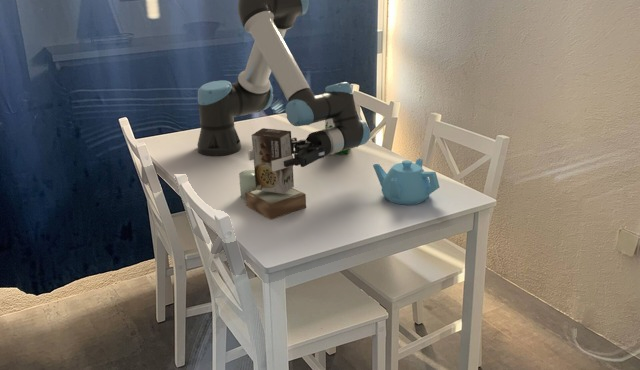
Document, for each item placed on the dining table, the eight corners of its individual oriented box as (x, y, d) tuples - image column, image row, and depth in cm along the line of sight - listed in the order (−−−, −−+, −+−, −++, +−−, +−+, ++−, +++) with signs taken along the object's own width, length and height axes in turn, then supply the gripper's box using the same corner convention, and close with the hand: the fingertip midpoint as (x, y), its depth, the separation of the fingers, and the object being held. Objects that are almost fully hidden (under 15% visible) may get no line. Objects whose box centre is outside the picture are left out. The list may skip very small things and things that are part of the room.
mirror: (246, 205, 178) (245, 191, 176) (280, 194, 185) (280, 181, 183) (270, 219, 169) (269, 204, 168) (306, 207, 176) (305, 193, 175)
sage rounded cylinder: (236, 195, 185) (235, 173, 182) (254, 190, 188) (252, 168, 186) (248, 202, 181) (246, 179, 178) (265, 196, 184) (264, 174, 181)
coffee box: (294, 186, 176) (292, 130, 170) (283, 194, 171) (281, 137, 164) (266, 181, 180) (262, 127, 173) (254, 190, 174) (250, 133, 168)
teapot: (388, 210, 173) (389, 173, 169) (371, 190, 187) (372, 155, 183) (440, 204, 177) (442, 168, 173) (420, 184, 190) (421, 150, 186)
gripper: (350, 165, 175) (286, 185, 162) (300, 145, 192) (238, 163, 179) (350, 139, 172) (285, 158, 160) (299, 121, 189) (236, 137, 176)
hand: (260, 160), depth 169 cm, fingers closed on coffee box, 10 cm apart
